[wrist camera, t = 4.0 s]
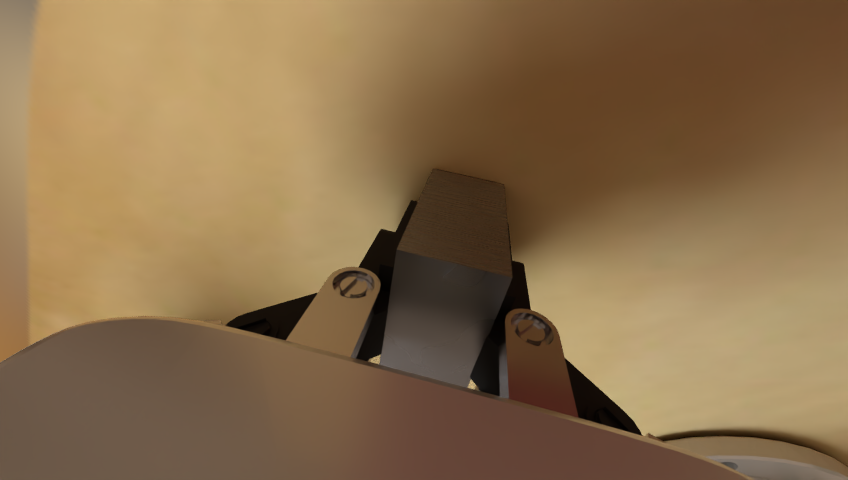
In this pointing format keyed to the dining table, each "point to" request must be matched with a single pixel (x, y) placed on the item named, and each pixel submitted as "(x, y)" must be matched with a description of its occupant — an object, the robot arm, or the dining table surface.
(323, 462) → the robot arm
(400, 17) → the dining table surface
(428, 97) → the dining table surface
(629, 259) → the dining table surface
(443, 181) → the grey flat block
